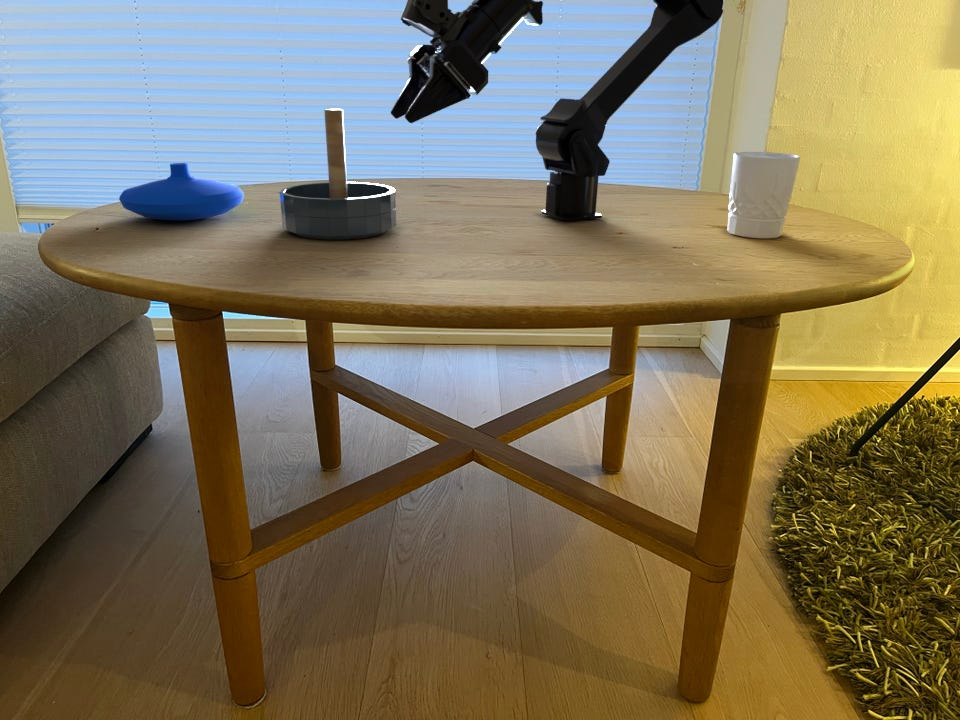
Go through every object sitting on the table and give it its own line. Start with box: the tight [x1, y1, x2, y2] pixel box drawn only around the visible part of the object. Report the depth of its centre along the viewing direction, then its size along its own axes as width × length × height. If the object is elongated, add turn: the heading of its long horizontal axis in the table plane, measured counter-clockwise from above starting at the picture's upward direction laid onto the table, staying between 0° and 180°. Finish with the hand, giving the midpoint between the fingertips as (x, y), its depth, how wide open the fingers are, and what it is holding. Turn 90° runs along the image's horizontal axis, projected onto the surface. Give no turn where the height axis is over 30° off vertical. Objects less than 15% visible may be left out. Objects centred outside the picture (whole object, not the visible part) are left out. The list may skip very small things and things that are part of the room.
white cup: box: [726, 151, 801, 240], centre depth 90 cm, size 8×8×10 cm
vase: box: [118, 162, 245, 222], centre depth 94 cm, size 16×16×7 cm
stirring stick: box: [323, 108, 348, 199], centre depth 87 cm, size 5×5×14 cm
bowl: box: [279, 181, 397, 241], centre depth 89 cm, size 14×14×5 cm
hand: (399, 118), depth 87 cm, fingers open, 9 cm apart
